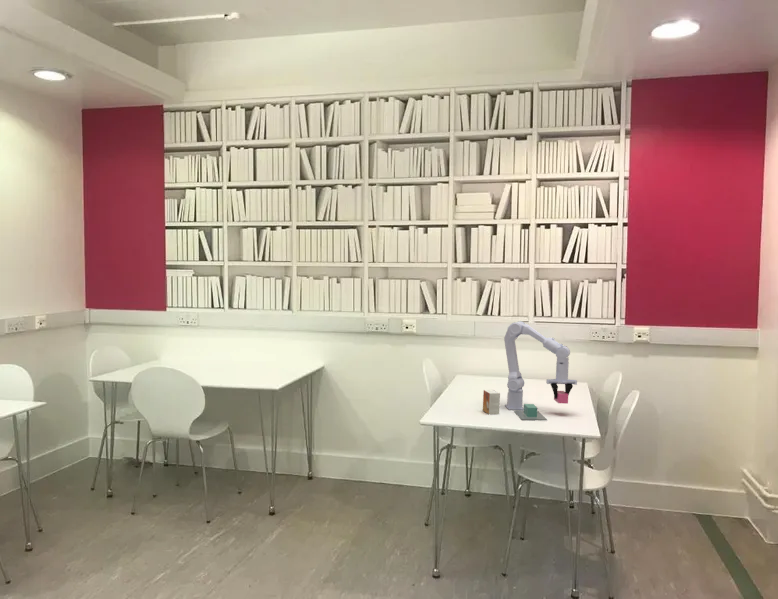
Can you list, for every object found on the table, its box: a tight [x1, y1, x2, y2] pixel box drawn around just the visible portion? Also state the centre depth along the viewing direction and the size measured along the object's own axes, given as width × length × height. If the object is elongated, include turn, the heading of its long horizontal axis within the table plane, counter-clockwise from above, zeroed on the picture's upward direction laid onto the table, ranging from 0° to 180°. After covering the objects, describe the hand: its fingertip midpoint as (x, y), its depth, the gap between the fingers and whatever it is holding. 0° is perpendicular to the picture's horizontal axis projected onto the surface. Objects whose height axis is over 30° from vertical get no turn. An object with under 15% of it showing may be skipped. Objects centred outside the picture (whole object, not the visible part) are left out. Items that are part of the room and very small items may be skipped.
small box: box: [482, 389, 501, 415], centre depth 307 cm, size 8×6×10 cm
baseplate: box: [513, 410, 548, 421], centre depth 302 cm, size 16×12×1 cm
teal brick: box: [523, 403, 538, 417], centre depth 302 cm, size 8×5×4 cm, turn 0°
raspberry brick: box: [553, 390, 569, 404], centre depth 306 cm, size 8×5×4 cm, turn 1°
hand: (560, 398), depth 306 cm, fingers closed on raspberry brick, 5 cm apart
